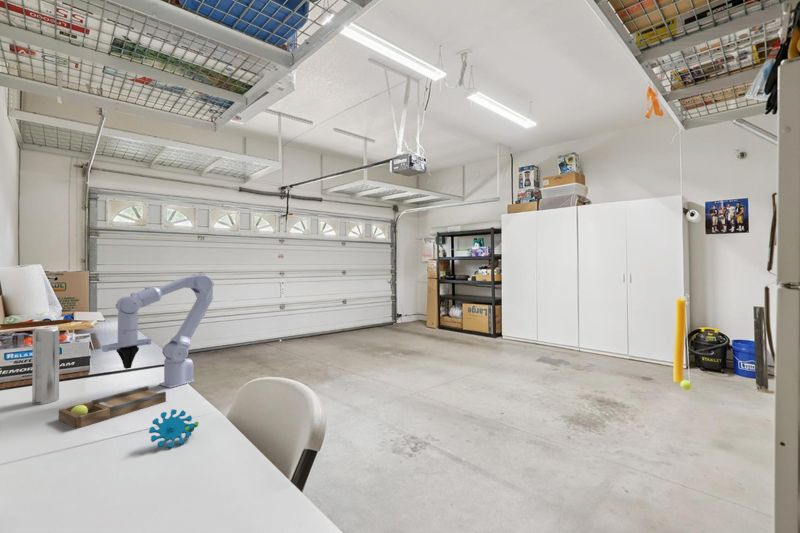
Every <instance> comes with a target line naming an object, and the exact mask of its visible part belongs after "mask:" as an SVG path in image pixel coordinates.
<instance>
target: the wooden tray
mask: <svg viewBox="0 0 800 533" xmlns="http://www.w3.org/2000/svg"><path fill="white" fill-rule="evenodd" d="M166 399H167V391H162V392H157V391H156V392H155V391H153V390H150V389H149V386H148V385H147V386H142V387H139V388H135V389H131V390H127V391H123V392H119V393H116V394H111V395H108V396H107V395H106V396H104V397H100V398H97V399H93V400H91V401H87V402H83V403H80V404H75V405H72V406H71V405H70V406H68V407H63V408H60V409H58V421H60V422H62V423H64V424H66V425H69V426H70V427H72V428H74V429H77V430H78V429H80V428H83V427H87V426H90V425H93V424H96V423H100V422H104V421H106V420H110V419H113V418H117V417H120V416H122V415H123V416H124V415H126V414H129V413H132V412H136V411H139V410H142V409H145V408H148V407H152V406H156V405H159V404H162V403H165V402H167V401H166ZM78 405H84V406H86V407H87V409H88V412H87V414H85V415H82V416H78V415H76V414H74V413H72V412H70V411H71V410H72V409H73V408H74V407H75V406H78Z"/></svg>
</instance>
